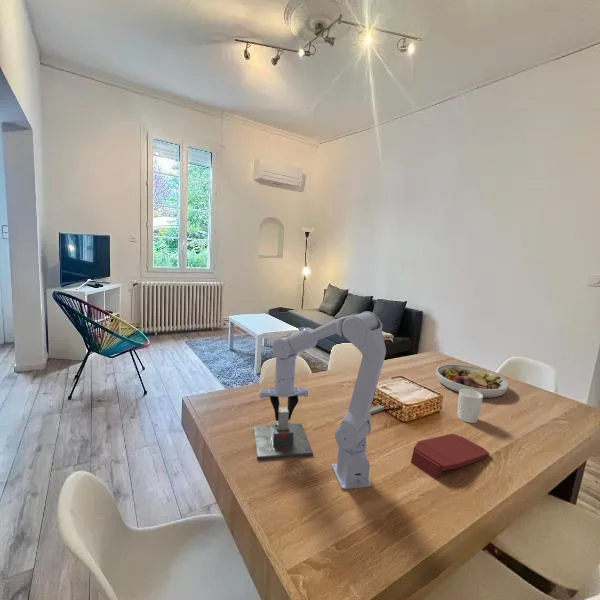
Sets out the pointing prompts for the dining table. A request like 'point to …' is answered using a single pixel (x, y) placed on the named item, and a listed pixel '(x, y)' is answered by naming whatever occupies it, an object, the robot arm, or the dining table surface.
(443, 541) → the dining table surface
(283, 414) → the post
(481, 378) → the bowl
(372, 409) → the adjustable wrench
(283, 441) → the stand
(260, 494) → the dining table surface
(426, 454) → the dark red bent panel
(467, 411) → the white cup
